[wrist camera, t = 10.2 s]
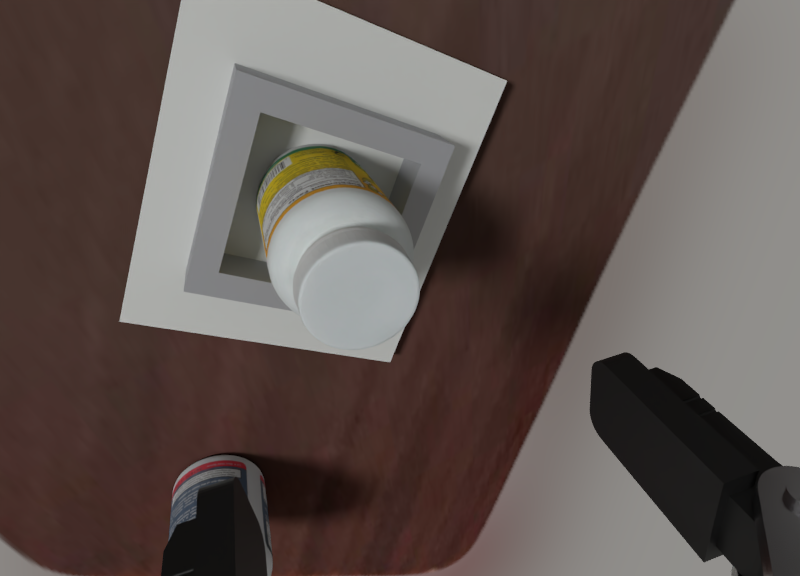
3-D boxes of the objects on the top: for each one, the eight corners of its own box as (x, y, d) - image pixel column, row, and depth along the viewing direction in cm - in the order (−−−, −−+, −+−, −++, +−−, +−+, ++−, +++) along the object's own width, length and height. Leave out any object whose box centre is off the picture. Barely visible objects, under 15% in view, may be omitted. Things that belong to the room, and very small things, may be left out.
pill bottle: (152, 490, 32) (132, 644, 24) (221, 437, 31) (223, 577, 24) (218, 527, 35) (218, 675, 27) (282, 479, 34) (299, 616, 27)
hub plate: (192, -52, 20) (188, -58, 18) (497, 77, 26) (530, 88, 23) (122, 310, 26) (111, 347, 24) (385, 352, 32) (401, 385, 29)
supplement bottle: (245, 149, 23) (260, 233, 15) (366, 134, 25) (439, 204, 17) (266, 261, 26) (289, 383, 18) (374, 243, 27) (441, 349, 19)
